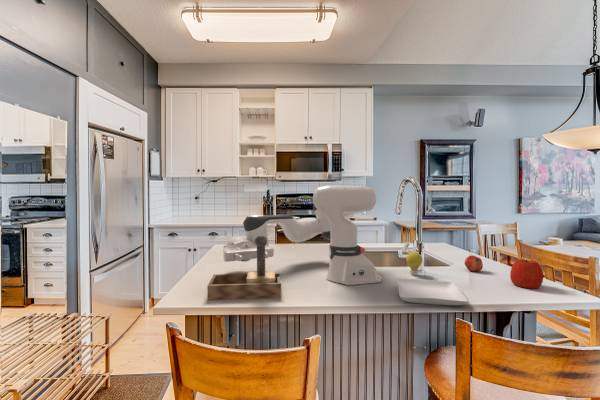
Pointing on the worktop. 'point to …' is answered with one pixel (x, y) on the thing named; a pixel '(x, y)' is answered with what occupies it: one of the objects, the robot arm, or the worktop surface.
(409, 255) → the light bulb
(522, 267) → the apple
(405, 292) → the salad plate
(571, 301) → the worktop surface
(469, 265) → the pomegranate
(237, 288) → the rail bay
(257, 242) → the knobbed upright rod
